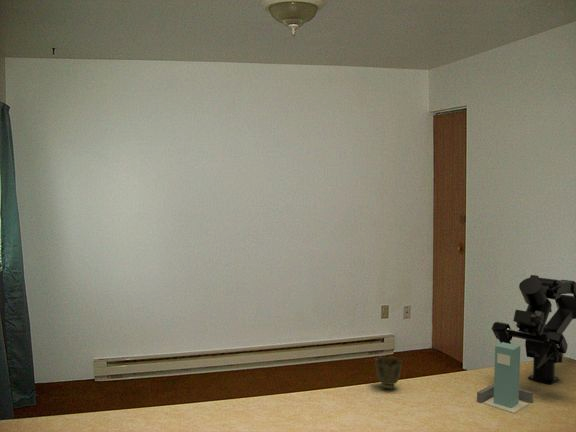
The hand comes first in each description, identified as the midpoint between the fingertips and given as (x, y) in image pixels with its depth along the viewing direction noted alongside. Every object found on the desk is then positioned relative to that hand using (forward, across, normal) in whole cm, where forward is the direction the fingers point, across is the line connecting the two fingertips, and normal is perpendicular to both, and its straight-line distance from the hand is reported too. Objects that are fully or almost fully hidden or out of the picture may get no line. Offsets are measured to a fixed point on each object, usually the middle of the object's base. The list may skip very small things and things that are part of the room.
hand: (518, 363), depth 143 cm
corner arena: (+11, -1, +2) cm, 11 cm away
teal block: (+12, 0, +1) cm, 12 cm away
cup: (+21, -27, -8) cm, 36 cm away
